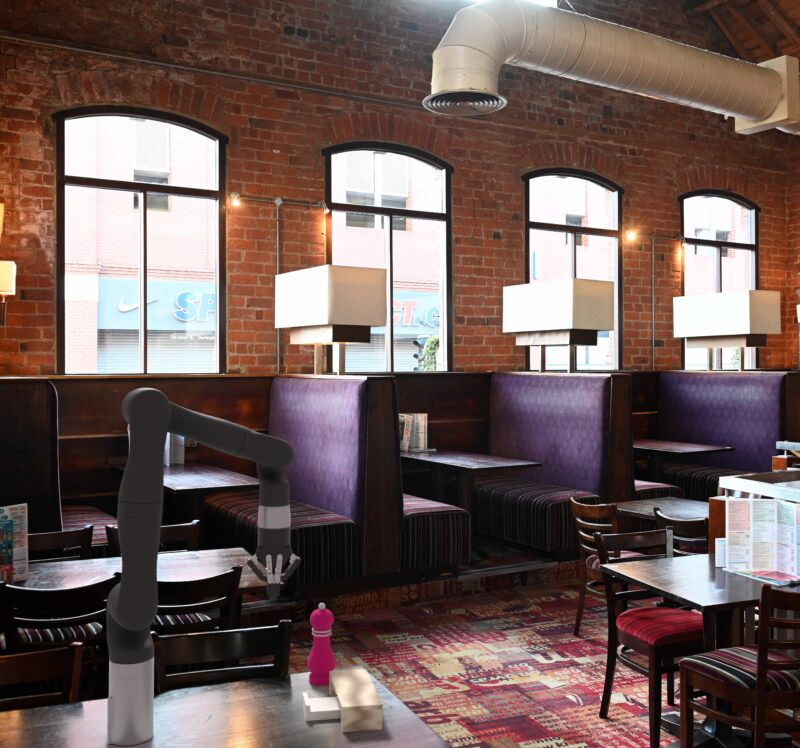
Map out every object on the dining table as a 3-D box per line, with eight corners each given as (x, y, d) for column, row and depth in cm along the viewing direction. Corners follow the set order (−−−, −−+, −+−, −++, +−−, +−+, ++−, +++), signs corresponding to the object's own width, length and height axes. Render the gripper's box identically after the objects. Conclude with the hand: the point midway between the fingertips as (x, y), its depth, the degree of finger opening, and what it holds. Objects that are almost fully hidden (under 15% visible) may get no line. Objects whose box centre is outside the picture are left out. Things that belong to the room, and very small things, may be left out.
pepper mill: (341, 681, 223) (342, 603, 223) (320, 688, 218) (320, 608, 217) (322, 674, 228) (323, 597, 228) (301, 681, 223) (301, 603, 222)
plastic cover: (305, 721, 198) (305, 705, 198) (302, 707, 206) (302, 692, 206) (371, 716, 201) (371, 701, 201) (365, 703, 209) (365, 688, 209)
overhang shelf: (342, 732, 192) (342, 707, 192) (329, 693, 215) (329, 671, 215) (382, 729, 194) (382, 704, 194) (365, 691, 216) (365, 668, 216)
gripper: (245, 527, 198) (244, 604, 199) (304, 526, 201) (303, 601, 201) (245, 521, 206) (244, 595, 206) (301, 520, 208) (300, 593, 208)
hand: (273, 598), depth 203 cm, fingers closed
